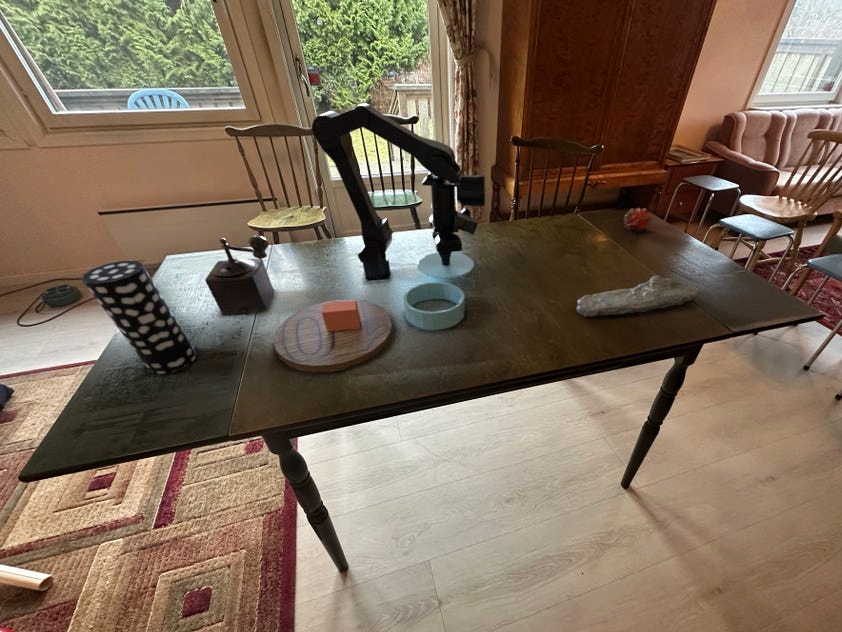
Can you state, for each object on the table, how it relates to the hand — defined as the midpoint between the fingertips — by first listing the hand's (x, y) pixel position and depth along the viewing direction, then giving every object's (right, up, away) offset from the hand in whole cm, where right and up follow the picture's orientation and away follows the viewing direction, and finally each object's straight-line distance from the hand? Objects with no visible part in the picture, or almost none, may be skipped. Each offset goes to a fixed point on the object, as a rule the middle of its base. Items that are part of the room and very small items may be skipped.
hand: (445, 262), depth 102 cm
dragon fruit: (+67, +22, +36) cm, 79 cm away
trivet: (-23, -21, -18) cm, 36 cm away
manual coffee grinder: (-46, -12, -8) cm, 48 cm away
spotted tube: (-54, -27, -25) cm, 65 cm away
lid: (0, -1, +1) cm, 1 cm away
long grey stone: (+50, -12, -4) cm, 52 cm away
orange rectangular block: (-21, -19, -18) cm, 34 cm away
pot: (-2, -15, -10) cm, 18 cm away
